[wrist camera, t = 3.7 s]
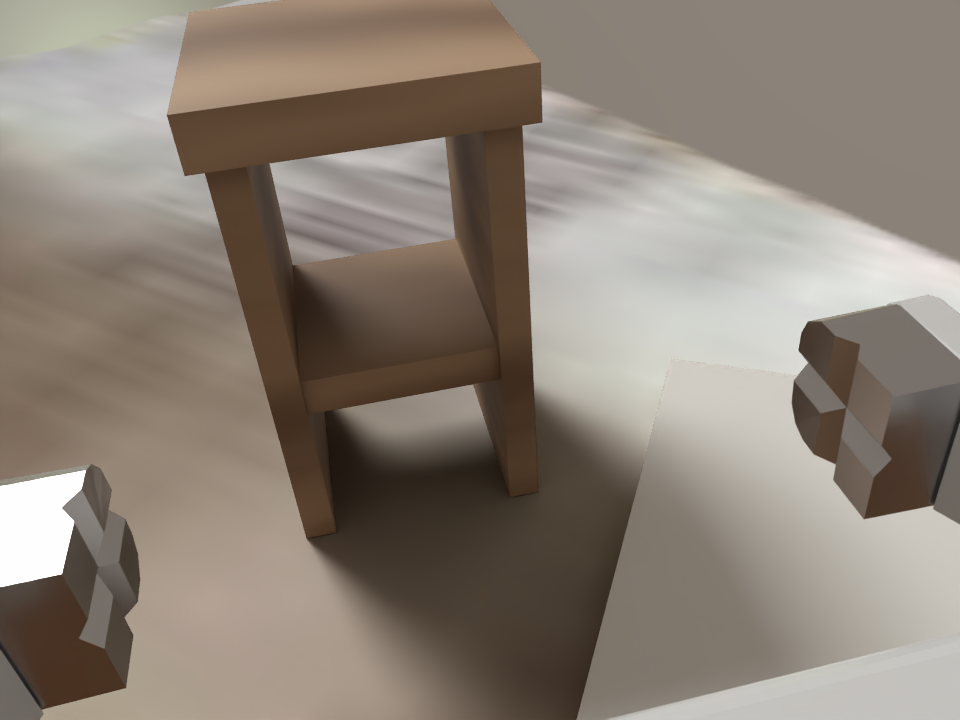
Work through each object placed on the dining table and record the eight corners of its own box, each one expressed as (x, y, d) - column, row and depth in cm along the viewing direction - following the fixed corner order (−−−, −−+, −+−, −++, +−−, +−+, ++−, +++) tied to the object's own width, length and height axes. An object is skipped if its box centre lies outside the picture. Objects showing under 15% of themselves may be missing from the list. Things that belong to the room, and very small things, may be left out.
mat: (1281, 969, 15) (1311, 945, 14) (570, 771, 18) (570, 745, 17) (1110, 447, 24) (1124, 419, 24) (668, 384, 28) (670, 359, 27)
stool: (553, 502, 24) (540, 62, 17) (296, 554, 23) (166, 114, 16) (497, 355, 30) (470, -24, 22) (287, 392, 29) (188, 12, 22)
